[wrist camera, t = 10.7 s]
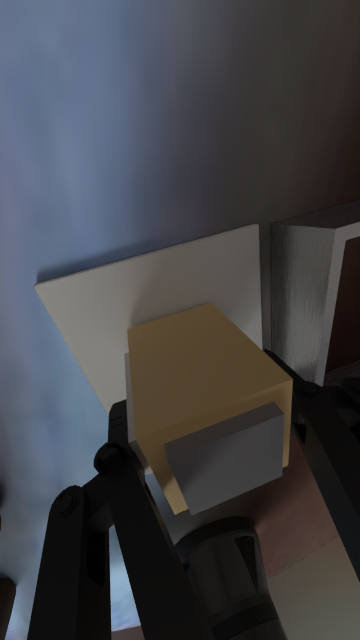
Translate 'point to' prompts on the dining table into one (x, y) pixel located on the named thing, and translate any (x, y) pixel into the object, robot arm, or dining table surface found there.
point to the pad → (152, 299)
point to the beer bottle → (6, 604)
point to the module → (207, 408)
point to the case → (310, 289)
